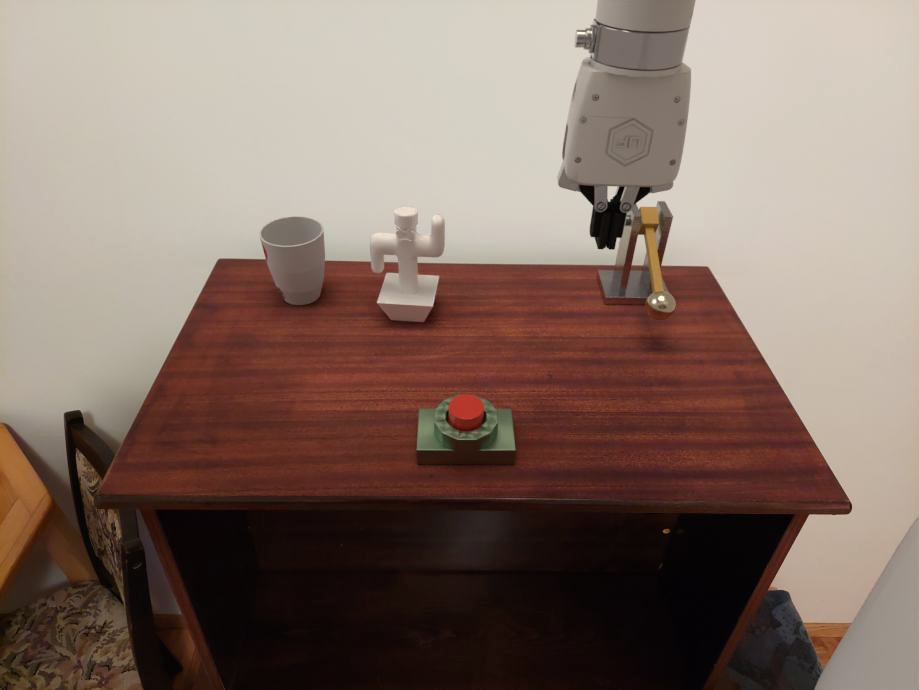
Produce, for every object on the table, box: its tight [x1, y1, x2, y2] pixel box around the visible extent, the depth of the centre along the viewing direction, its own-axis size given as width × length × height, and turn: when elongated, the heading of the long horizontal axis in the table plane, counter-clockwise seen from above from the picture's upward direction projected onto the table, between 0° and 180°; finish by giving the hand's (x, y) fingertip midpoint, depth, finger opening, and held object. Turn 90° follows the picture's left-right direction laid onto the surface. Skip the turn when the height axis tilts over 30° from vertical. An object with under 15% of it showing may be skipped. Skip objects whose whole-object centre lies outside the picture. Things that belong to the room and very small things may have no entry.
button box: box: [415, 394, 517, 465], centre depth 67 cm, size 10×6×4 cm, turn 91°
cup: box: [258, 215, 326, 306], centre depth 86 cm, size 8×8×10 cm
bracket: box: [596, 200, 674, 306], centre depth 88 cm, size 7×9×13 cm
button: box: [448, 394, 484, 431], centre depth 65 cm, size 4×4×2 cm
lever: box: [638, 206, 677, 321], centre depth 82 cm, size 16×4×4 cm, turn 0°
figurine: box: [369, 206, 446, 323], centre depth 82 cm, size 7×9×15 cm
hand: (603, 242), depth 64 cm, fingers closed
